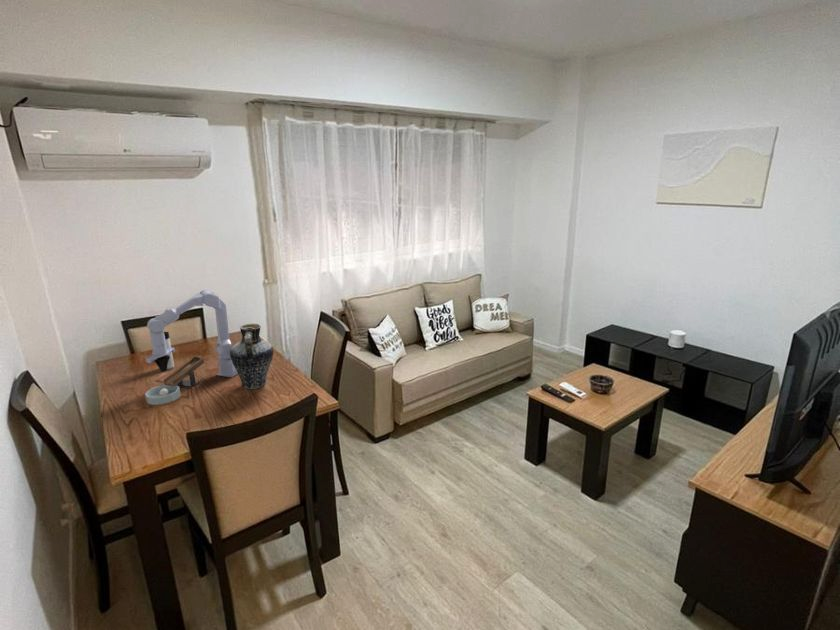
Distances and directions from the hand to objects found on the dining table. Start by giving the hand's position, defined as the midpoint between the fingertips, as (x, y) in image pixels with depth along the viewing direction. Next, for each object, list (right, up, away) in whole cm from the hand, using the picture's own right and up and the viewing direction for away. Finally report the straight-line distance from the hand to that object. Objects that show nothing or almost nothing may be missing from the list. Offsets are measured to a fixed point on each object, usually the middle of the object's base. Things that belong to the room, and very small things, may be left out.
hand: (163, 371), depth 210 cm
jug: (+41, -8, +6) cm, 42 cm away
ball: (+4, -9, -7) cm, 12 cm away
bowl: (+4, -11, -6) cm, 13 cm away
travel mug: (-12, -2, +25) cm, 28 cm away
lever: (+4, -2, +6) cm, 8 cm away
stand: (+8, -7, +6) cm, 12 cm away
